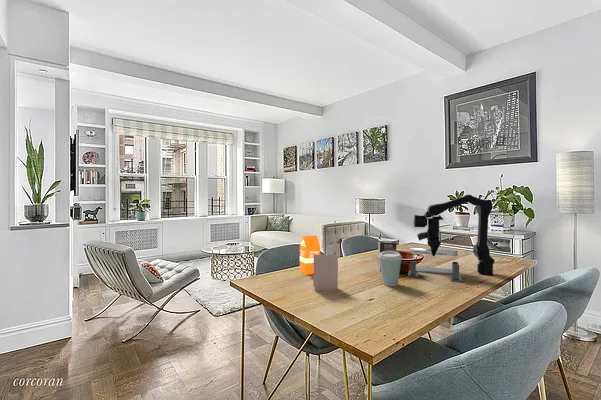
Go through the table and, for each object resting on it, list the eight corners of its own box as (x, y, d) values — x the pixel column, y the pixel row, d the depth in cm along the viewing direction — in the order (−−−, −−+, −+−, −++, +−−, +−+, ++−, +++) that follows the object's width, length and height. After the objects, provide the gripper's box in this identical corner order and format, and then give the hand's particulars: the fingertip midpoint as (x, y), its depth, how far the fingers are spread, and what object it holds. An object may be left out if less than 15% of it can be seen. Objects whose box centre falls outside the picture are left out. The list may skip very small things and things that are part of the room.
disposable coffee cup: (403, 288, 139) (403, 255, 138) (378, 287, 141) (379, 254, 141) (400, 281, 149) (400, 251, 149) (377, 280, 152) (377, 250, 151)
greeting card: (338, 287, 141) (338, 255, 140) (335, 292, 133) (335, 258, 133) (313, 285, 144) (313, 253, 143) (310, 290, 136) (310, 257, 136)
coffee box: (379, 271, 168) (379, 242, 168) (377, 268, 174) (377, 240, 174) (396, 272, 167) (396, 242, 167) (394, 269, 174) (394, 240, 173)
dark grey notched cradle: (460, 277, 157) (460, 261, 157) (462, 282, 149) (462, 265, 148) (408, 272, 166) (408, 257, 166) (407, 276, 158) (408, 261, 158)
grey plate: (456, 270, 170) (456, 269, 170) (458, 275, 160) (458, 274, 160) (410, 266, 179) (410, 265, 179) (409, 271, 169) (409, 270, 169)
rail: (457, 255, 166) (457, 250, 166) (457, 256, 163) (457, 251, 163) (410, 252, 175) (410, 247, 175) (410, 253, 172) (410, 248, 172)
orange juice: (299, 271, 169) (299, 235, 169) (313, 269, 173) (313, 234, 172) (305, 274, 162) (305, 237, 162) (320, 272, 166) (320, 236, 165)
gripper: (418, 225, 180) (418, 251, 181) (417, 229, 163) (417, 258, 163) (438, 226, 176) (438, 252, 177) (440, 229, 159) (440, 259, 159)
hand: (433, 255), depth 169 cm, fingers closed on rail, 3 cm apart
